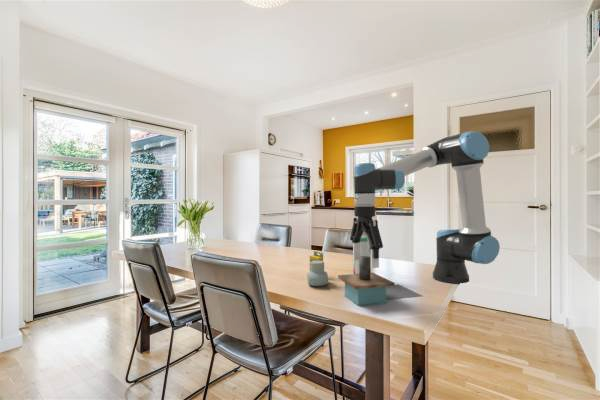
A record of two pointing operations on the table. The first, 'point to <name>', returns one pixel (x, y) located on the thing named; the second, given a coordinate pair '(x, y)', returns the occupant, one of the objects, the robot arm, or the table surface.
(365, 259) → the lid
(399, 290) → the mat
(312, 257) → the crayon box
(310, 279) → the air freshener
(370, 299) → the teal storage bin
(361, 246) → the milk bottle
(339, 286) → the table surface
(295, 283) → the table surface
